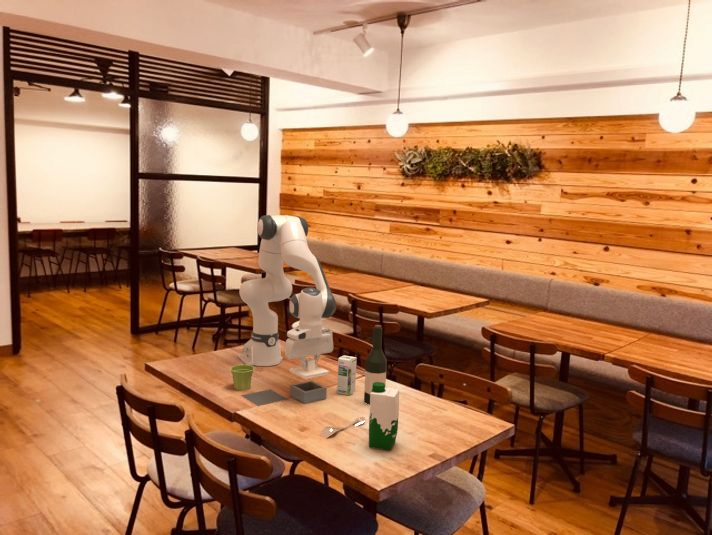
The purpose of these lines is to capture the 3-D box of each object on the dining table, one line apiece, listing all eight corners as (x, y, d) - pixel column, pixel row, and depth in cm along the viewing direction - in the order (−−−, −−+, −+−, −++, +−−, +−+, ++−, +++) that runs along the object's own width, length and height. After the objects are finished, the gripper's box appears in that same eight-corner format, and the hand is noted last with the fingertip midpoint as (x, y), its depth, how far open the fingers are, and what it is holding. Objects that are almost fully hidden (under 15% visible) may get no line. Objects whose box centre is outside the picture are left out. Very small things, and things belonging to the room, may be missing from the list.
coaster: (240, 396, 231) (240, 395, 231) (270, 390, 239) (270, 389, 239) (257, 407, 221) (257, 405, 221) (287, 400, 229) (287, 399, 229)
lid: (289, 371, 231) (289, 358, 230) (312, 367, 238) (313, 354, 237) (305, 379, 223) (305, 365, 222) (329, 374, 229) (329, 361, 229)
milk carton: (372, 437, 199) (375, 379, 196) (398, 441, 197) (402, 382, 194) (365, 448, 191) (368, 387, 188) (393, 452, 188) (396, 391, 186)
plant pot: (246, 394, 234) (247, 373, 232) (225, 391, 237) (225, 369, 235) (258, 387, 242) (258, 366, 241) (237, 384, 245) (237, 363, 244)
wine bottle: (370, 396, 238) (373, 322, 234) (388, 400, 233) (392, 325, 229) (359, 402, 231) (363, 325, 226) (378, 407, 226) (382, 329, 222)
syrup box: (336, 393, 239) (337, 358, 237) (342, 389, 245) (344, 354, 243) (349, 396, 237) (350, 360, 235) (355, 391, 242) (357, 356, 240)
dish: (289, 397, 233) (290, 385, 232) (311, 392, 239) (311, 380, 238) (304, 405, 225) (304, 392, 224) (326, 400, 231) (326, 387, 230)
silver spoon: (358, 409, 213) (368, 413, 210) (358, 419, 214) (368, 423, 211) (317, 428, 199) (328, 432, 196) (318, 438, 199) (328, 442, 196)
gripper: (327, 326, 237) (326, 360, 239) (283, 332, 224) (282, 368, 226) (337, 329, 232) (336, 364, 234) (292, 336, 219) (291, 373, 221)
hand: (309, 366), depth 230 cm, fingers closed on lid, 3 cm apart
